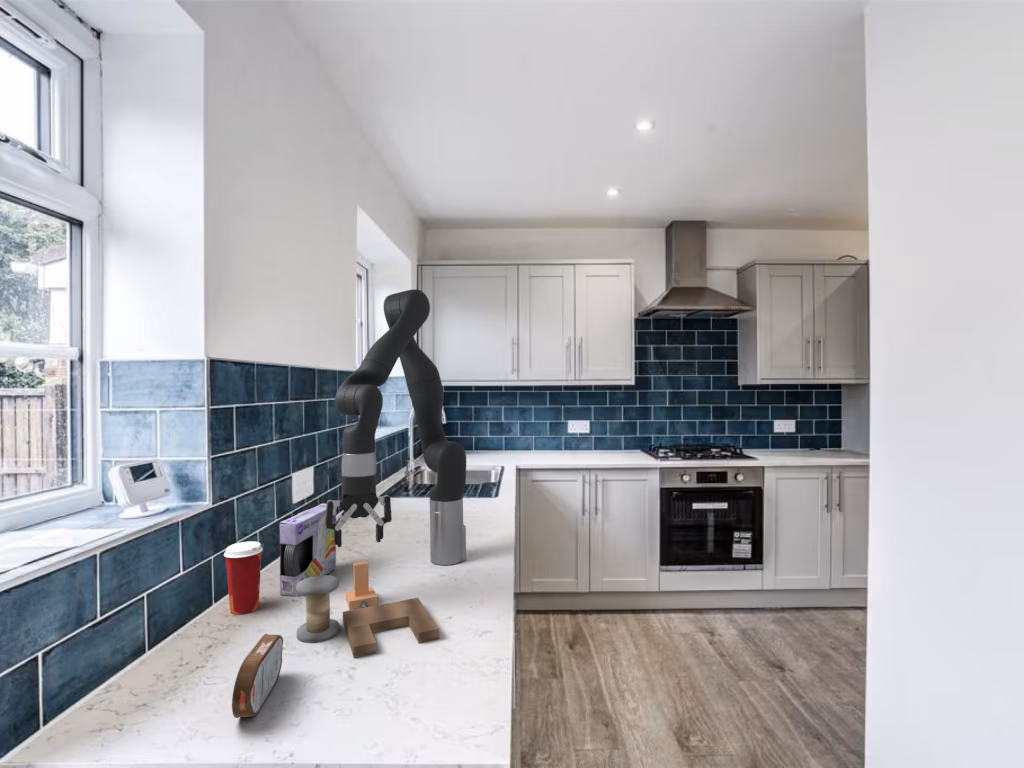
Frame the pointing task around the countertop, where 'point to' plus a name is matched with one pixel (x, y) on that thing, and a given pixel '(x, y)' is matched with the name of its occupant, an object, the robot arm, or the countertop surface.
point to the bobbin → (317, 609)
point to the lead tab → (361, 588)
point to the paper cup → (243, 576)
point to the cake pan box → (305, 548)
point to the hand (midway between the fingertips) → (359, 543)
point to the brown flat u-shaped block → (387, 624)
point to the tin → (257, 676)
